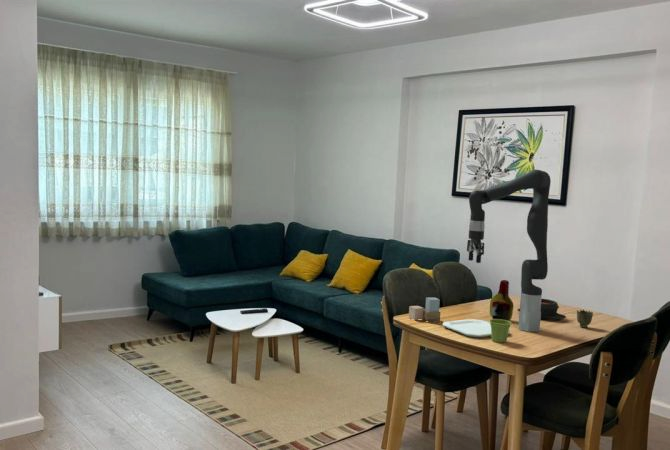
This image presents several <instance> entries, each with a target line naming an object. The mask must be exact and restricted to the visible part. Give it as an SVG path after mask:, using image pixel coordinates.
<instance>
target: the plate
mask: <svg viewBox="0 0 670 450" xmlns="http://www.w3.org/2000/svg"><path fill="white" fill-rule="evenodd" d="M442 326H443V327H444V328H447V329H449V330H450V329H451V331H453V332H456V333H459V334H461V335H464V336H466V337H470V338H477V339H480V338H487V337H488V338H490V337H491V338H492V335H491V325H490V322H489V321H486V320H482V319H473V318H469V319H459V320H449V321H443V323H442ZM509 333H510V330H509V331H508V334H509Z"/></svg>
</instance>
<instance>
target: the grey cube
mask: <svg viewBox="0 0 670 450" xmlns="http://www.w3.org/2000/svg"><path fill="white" fill-rule="evenodd" d="M440 301H441V300H440V299H439V298H437V297H425V307H424V309H425V310H427V311H428V312H440V303H441V302H440Z"/></svg>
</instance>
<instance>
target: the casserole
mask: <svg viewBox="0 0 670 450" xmlns="http://www.w3.org/2000/svg"><path fill="white" fill-rule="evenodd" d="M559 308H560V306H559V305H558V302H557V301H555V300H553V299H552V300H551V299H548V298H541V309H540V312H541V319H540V320H552V319H553V320H554V319H555V320H563V319H566V318H567V316H566V315H564V314H562V313H559V312H558V309H559ZM516 311H517V312H519V313H520V307H519V308H517V309H516Z"/></svg>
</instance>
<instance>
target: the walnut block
mask: <svg viewBox="0 0 670 450" xmlns="http://www.w3.org/2000/svg"><path fill="white" fill-rule="evenodd" d="M424 320H425V321H428V322H427V323H440V322H441V311H439V312H428V311H427V310H425V308H424V313H423V320H422V321H424ZM425 321H424V322H425Z"/></svg>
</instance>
